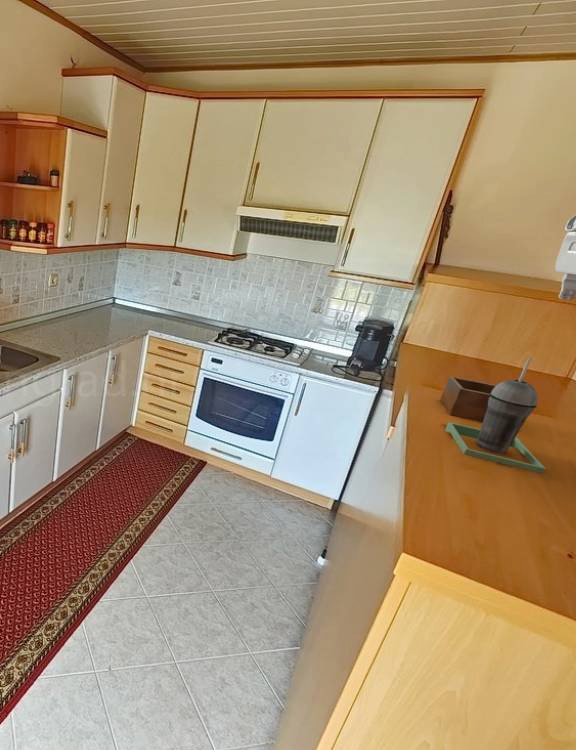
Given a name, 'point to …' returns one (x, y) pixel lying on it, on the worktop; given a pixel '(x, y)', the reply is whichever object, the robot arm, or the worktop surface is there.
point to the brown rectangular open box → (466, 398)
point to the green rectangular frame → (474, 433)
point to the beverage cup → (507, 413)
